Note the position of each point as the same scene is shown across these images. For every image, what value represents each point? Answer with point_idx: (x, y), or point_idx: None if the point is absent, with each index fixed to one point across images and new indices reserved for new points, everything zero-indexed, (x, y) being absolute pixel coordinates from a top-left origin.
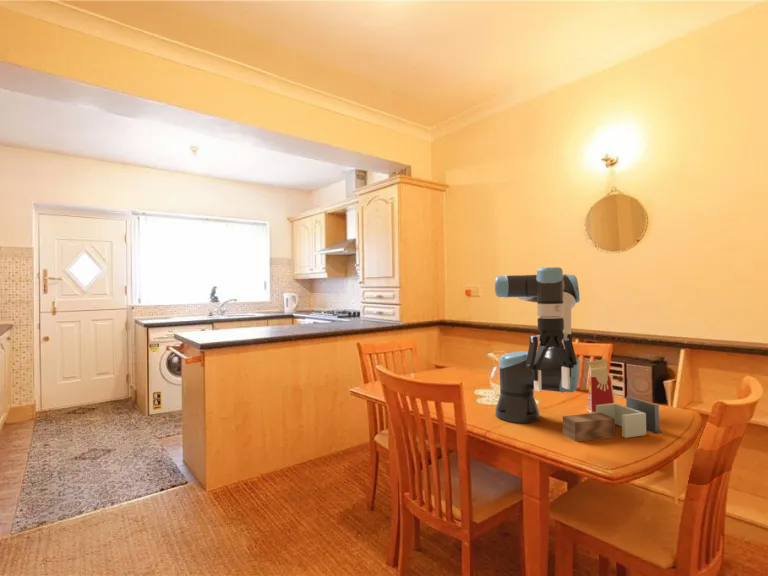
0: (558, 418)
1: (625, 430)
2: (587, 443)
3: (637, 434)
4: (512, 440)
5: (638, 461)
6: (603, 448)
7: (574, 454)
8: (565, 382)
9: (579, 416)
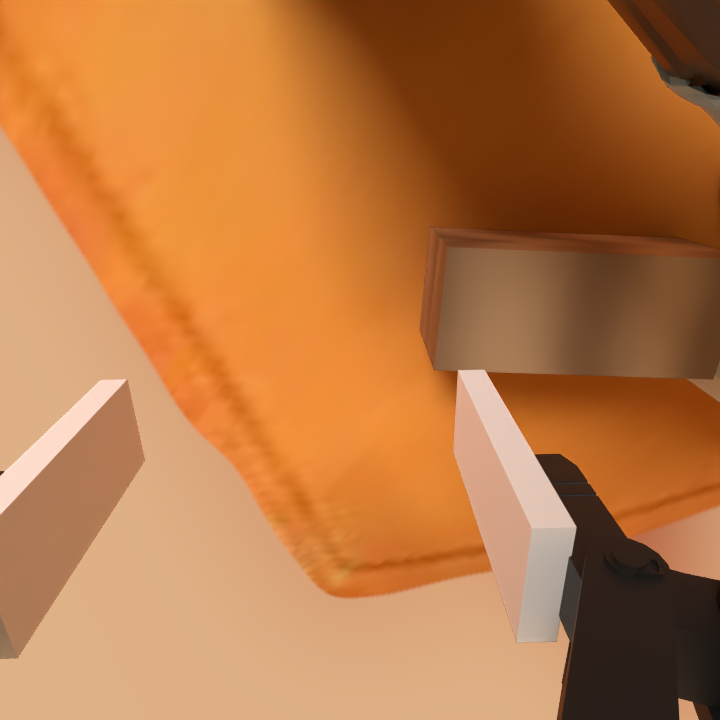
0: None
1: (700, 388)
2: None
3: None
4: (97, 229)
5: None
6: None
7: (311, 448)
8: (467, 460)
9: (549, 286)
